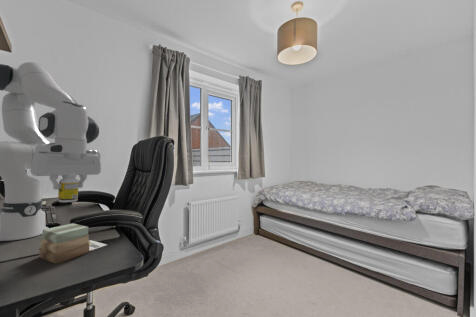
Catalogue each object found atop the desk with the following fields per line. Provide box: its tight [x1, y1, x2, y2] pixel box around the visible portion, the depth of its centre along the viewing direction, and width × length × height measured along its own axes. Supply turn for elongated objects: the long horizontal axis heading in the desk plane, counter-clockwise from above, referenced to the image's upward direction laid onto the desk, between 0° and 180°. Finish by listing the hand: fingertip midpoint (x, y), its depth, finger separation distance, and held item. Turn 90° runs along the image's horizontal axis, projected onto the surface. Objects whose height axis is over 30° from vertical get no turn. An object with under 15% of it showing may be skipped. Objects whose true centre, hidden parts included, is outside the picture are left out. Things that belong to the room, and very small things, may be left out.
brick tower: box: [38, 222, 90, 264], centre depth 75 cm, size 10×10×9 cm
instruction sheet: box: [89, 239, 108, 252], centre depth 84 cm, size 10×6×1 cm, turn 66°
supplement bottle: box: [57, 173, 79, 203], centre depth 76 cm, size 5×5×10 cm
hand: (68, 188), depth 76 cm, fingers closed on supplement bottle, 5 cm apart
